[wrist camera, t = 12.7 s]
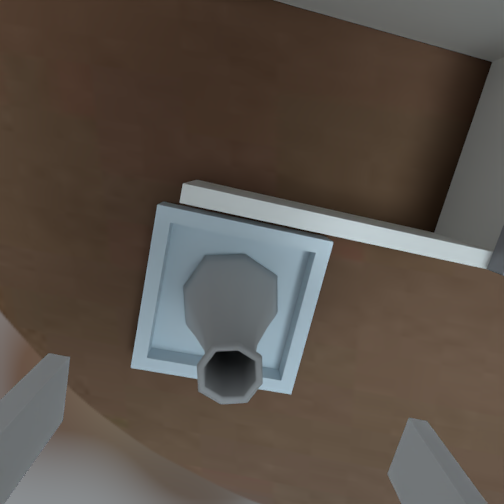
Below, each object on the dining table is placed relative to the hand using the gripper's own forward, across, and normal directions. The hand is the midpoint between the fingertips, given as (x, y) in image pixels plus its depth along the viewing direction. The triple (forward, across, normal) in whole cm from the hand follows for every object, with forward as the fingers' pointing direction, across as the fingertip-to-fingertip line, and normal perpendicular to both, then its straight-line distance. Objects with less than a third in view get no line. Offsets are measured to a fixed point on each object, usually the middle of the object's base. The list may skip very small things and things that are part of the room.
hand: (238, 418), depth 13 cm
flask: (+13, -1, 0) cm, 13 cm away
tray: (+14, -1, 0) cm, 14 cm away
